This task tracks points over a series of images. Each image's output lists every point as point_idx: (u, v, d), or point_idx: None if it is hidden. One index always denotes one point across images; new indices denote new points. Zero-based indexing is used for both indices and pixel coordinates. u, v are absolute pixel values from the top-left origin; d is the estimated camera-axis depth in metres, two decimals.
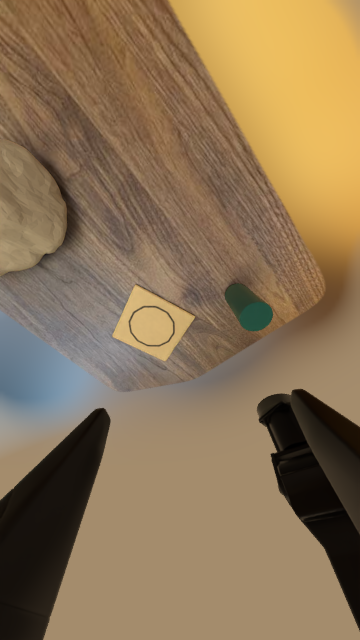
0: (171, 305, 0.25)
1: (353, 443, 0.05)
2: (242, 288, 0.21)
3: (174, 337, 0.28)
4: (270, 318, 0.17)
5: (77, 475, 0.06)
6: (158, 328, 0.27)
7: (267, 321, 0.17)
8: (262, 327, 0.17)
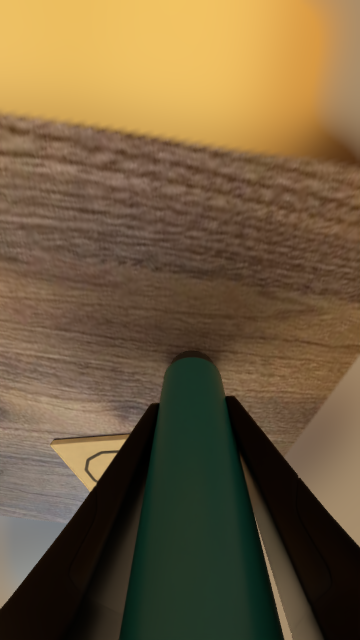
0: (117, 441, 0.14)
1: (251, 449, 0.05)
2: (166, 405, 0.07)
3: None
4: None
5: None
6: None
7: None
8: None
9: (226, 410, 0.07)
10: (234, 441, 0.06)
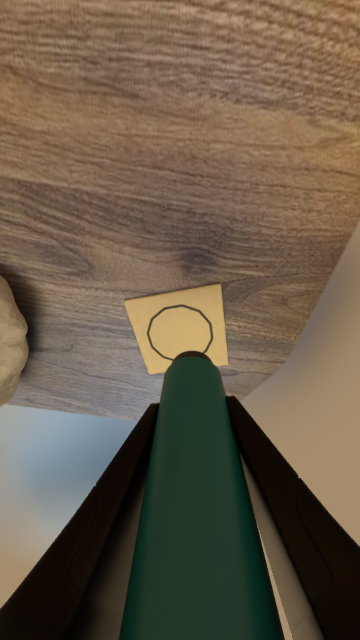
0: (180, 293, 0.17)
1: (251, 449, 0.05)
2: (166, 405, 0.07)
3: (216, 329, 0.19)
4: None
5: None
6: (188, 331, 0.19)
7: None
8: None
9: (226, 410, 0.07)
10: (234, 441, 0.06)
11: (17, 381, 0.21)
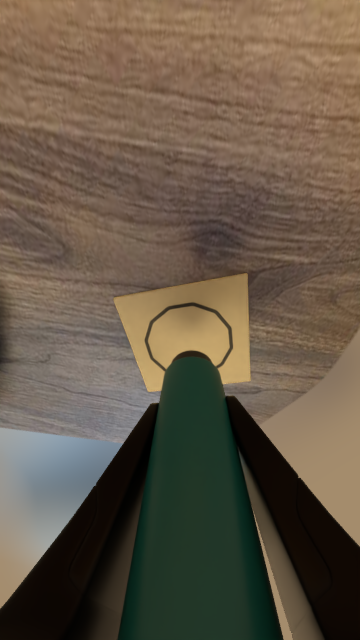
0: (190, 286, 0.12)
1: (251, 449, 0.05)
2: (165, 405, 0.07)
3: (237, 336, 0.14)
4: None
5: None
6: (199, 338, 0.14)
7: None
8: None
9: (226, 409, 0.07)
10: (234, 440, 0.06)
11: None
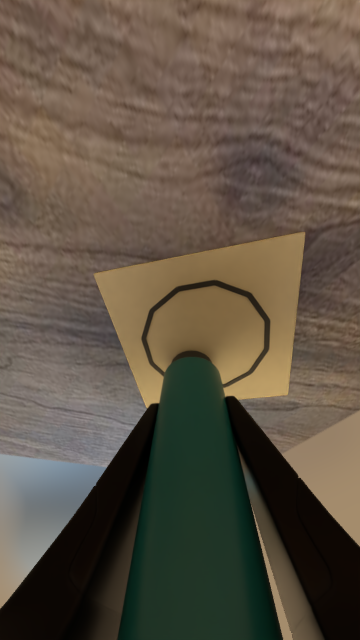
0: (212, 254, 0.08)
1: (251, 449, 0.05)
2: (165, 405, 0.07)
3: (277, 332, 0.09)
4: None
5: None
6: (221, 335, 0.10)
7: None
8: None
9: (225, 409, 0.07)
10: (233, 440, 0.06)
11: None
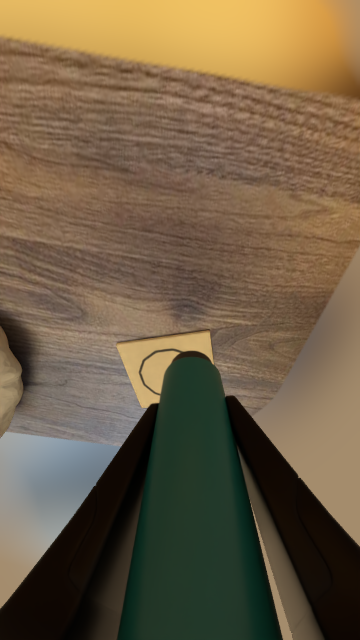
0: (170, 338, 0.18)
1: (251, 449, 0.05)
2: (165, 405, 0.07)
3: None
4: None
5: None
6: None
7: None
8: None
9: (225, 410, 0.07)
10: (233, 441, 0.06)
11: (12, 415, 0.22)
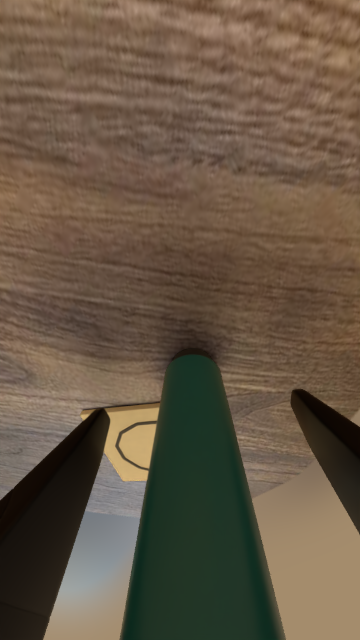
0: (157, 409, 0.12)
1: (353, 443, 0.05)
2: (167, 401, 0.07)
3: None
4: None
5: (77, 475, 0.06)
6: None
7: None
8: None
9: (226, 405, 0.07)
10: (233, 435, 0.06)
11: None
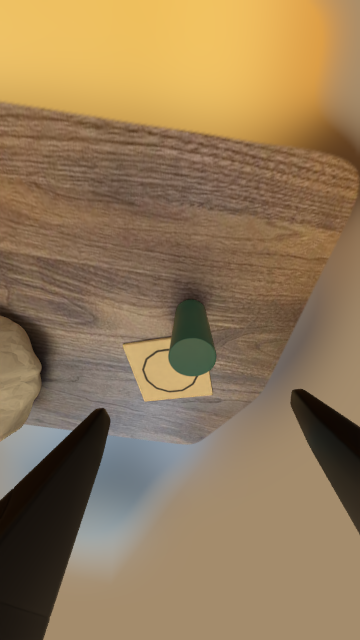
0: (169, 340, 0.20)
1: (353, 443, 0.05)
2: (178, 313, 0.15)
3: None
4: (210, 348, 0.11)
5: (77, 475, 0.06)
6: None
7: (210, 353, 0.11)
8: (212, 362, 0.11)
9: (205, 315, 0.15)
10: (207, 321, 0.14)
11: (30, 407, 0.24)
